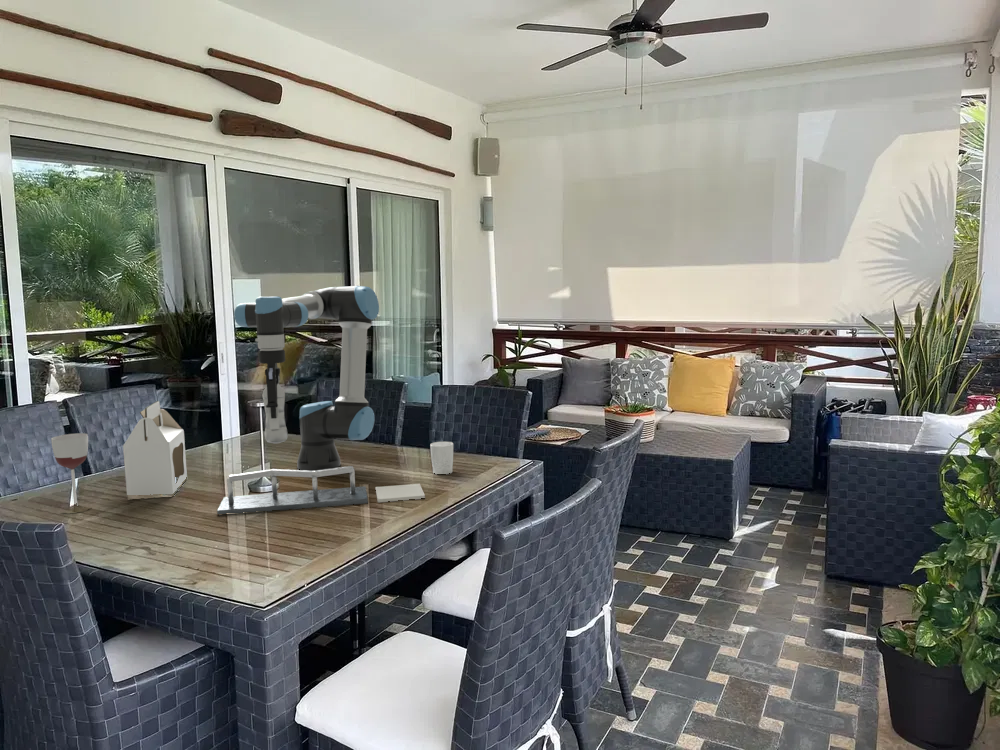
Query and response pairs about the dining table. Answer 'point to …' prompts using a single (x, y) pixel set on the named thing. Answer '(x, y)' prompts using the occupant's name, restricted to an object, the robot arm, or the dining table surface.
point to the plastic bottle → (281, 433)
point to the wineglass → (70, 453)
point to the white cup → (442, 457)
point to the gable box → (155, 454)
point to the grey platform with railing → (292, 498)
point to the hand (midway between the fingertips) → (275, 426)
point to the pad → (399, 492)
